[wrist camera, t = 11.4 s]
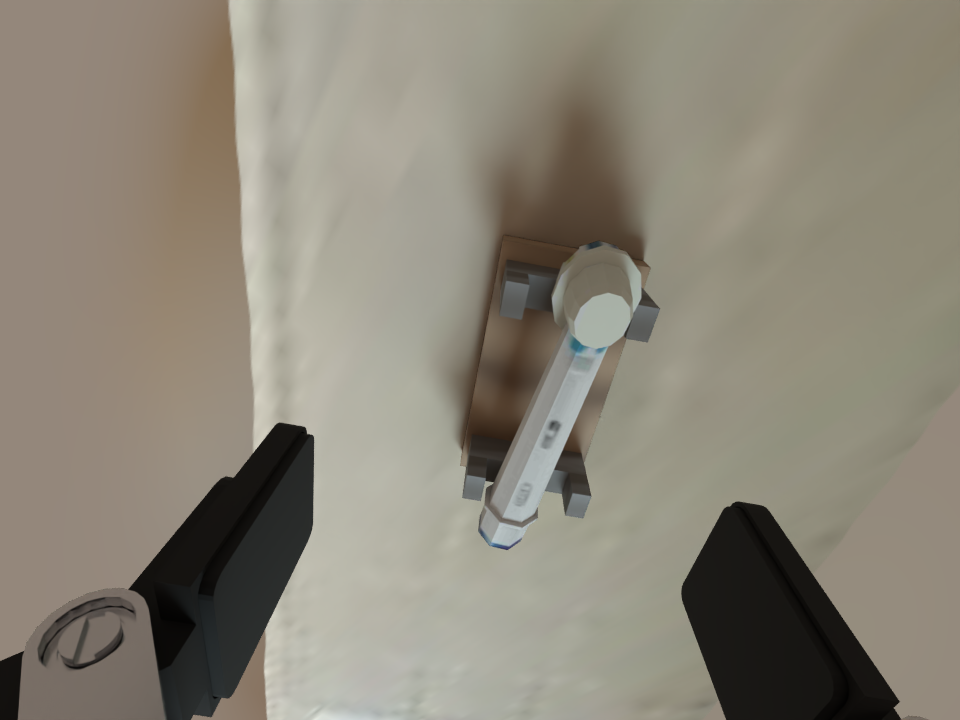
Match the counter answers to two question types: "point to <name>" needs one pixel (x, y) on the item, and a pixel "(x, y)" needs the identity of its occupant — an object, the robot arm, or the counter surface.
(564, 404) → the white elongated piece
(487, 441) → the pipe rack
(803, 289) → the counter surface
